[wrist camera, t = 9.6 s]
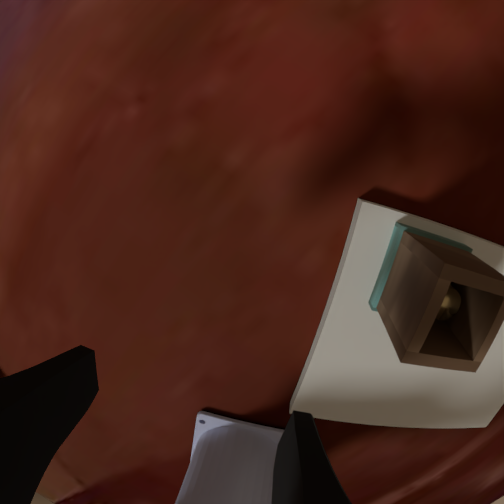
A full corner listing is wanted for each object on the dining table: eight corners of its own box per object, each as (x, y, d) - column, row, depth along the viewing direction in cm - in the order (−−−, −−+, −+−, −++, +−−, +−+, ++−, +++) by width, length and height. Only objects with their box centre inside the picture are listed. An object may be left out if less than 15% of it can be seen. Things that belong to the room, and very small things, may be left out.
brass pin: (425, 289, 16) (452, 322, 13) (402, 283, 16) (426, 317, 13) (434, 264, 16) (465, 292, 12) (412, 257, 16) (439, 285, 12)
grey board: (481, 418, 20) (485, 427, 19) (289, 402, 21) (289, 413, 20) (560, 270, 15) (569, 276, 14) (358, 198, 17) (362, 201, 15)
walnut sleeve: (435, 317, 17) (476, 376, 11) (368, 302, 17) (394, 366, 11) (464, 244, 15) (522, 283, 10) (395, 221, 15) (442, 256, 10)
